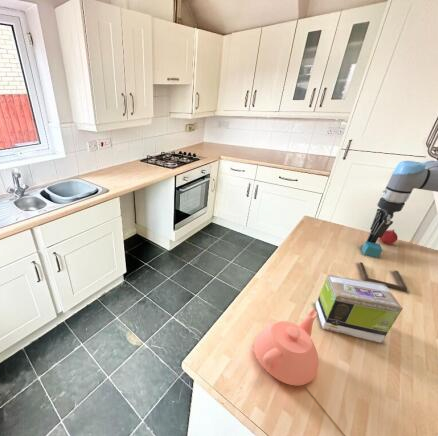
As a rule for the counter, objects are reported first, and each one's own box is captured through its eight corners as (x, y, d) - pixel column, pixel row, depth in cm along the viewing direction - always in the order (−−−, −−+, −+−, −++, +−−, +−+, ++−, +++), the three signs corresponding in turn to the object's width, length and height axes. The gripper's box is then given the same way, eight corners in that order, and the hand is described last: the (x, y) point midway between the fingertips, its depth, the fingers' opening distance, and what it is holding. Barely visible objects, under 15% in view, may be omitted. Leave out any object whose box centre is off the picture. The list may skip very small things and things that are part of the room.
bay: (357, 265, 101) (359, 262, 100) (395, 274, 96) (398, 271, 95) (363, 282, 93) (365, 278, 92) (405, 293, 87) (407, 289, 86)
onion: (381, 246, 112) (389, 231, 109) (374, 239, 117) (381, 225, 114) (396, 248, 111) (404, 233, 107) (388, 241, 116) (396, 226, 112)
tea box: (366, 317, 79) (387, 283, 72) (380, 344, 70) (405, 309, 63) (313, 305, 83) (328, 272, 76) (321, 330, 75) (337, 295, 68)
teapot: (280, 321, 78) (290, 293, 72) (332, 359, 67) (348, 330, 61) (235, 358, 68) (242, 329, 62) (287, 410, 57) (302, 381, 51)
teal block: (360, 250, 110) (365, 241, 108) (374, 253, 108) (379, 243, 106) (363, 256, 107) (367, 246, 104) (377, 259, 104) (382, 249, 102)
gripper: (377, 192, 105) (355, 237, 116) (385, 204, 95) (360, 252, 107) (400, 195, 102) (375, 241, 113) (410, 207, 92) (382, 257, 103)
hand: (368, 246), depth 110 cm, fingers closed
